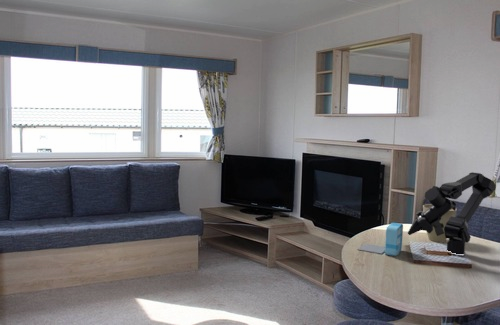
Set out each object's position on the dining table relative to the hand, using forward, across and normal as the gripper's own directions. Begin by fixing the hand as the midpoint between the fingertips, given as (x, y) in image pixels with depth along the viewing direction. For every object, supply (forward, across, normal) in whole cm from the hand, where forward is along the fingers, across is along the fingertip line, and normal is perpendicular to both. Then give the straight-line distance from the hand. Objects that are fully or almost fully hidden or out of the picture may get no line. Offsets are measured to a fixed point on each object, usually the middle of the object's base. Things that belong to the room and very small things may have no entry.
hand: (408, 234), depth 199 cm
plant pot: (-4, +30, -17) cm, 35 cm away
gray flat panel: (+16, +3, +4) cm, 17 cm away
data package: (+10, +1, -2) cm, 11 cm away
